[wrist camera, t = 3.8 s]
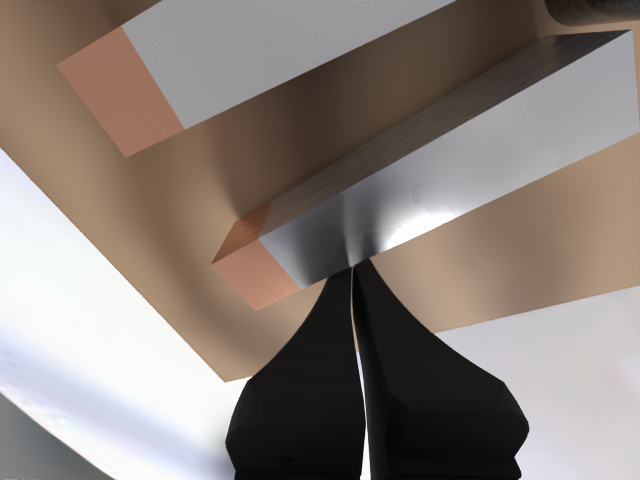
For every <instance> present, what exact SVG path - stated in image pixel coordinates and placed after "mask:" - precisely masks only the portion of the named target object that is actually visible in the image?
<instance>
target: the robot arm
mask: <svg viewBox="0 0 640 480" xmlns="http://www.w3.org/2000/svg"><path fill="white" fill-rule="evenodd" d="M351 285H352V309H353V320H354V326H355V332H356V337H357V343H358V349H359V354H360V360H361V365H362V372H363V380H364V392H365V404H366V417H367V430H368V444H369V458H370V473H371V480H519V479H520V478H521V476H522V475H521V471H520V468H519V466H518V464H517V462H516V460H515V458H514V457H515V455H516V454H517V452H518V451H519V449H520V448H521V446H522V445H523V443H524V442H525V440H526V438H527V435H528V433H529V424H528V421H527V419H526V417H525V416H524V414H523V412H522V410H521V408H520V406H519V405H518V403H517V401H516V400H515V398H514V397H513V395H512V394H511V392H510V391H509V389H508V388H507V386H506V385H505V383H504V382H503V381H501V380H500V379H498V378H496V377H495V376H493V375H491V374H490V373H488V372H486V371H485V370H483V369H482V368H480V367H478V366H477V365H475V364H473V363H472V362H470V361H469V360H467V359H466V358H465V357H463V356H462V355H460V354H459V353H457V352H456V351H455V350H453V349H452V348H451V347H449V346H448V345H447V344H445V343H444V342H443V341H442V340H440V339H439V338H438V337H437V336H435V335H434V334H433V333H432V332H431V331H429V330H428V329H427V328H426V327H425V326H424V325H423V324H422V323H421V322H420V321H419V320H418V319H417V318H415V317H414V316H413V315H412V313H411V312H410V311H409V310H408V309H407V308H406V307H405V306H404V305H403V304H402V303H401V301H400V300H399V299H398V298H397V297H396V295H395V294H394V293H393V292H392V290H391V289H390V288H389V287H388V285H387V284H386V283H385V281H384V280H383V278H382V277H381V275H380V274H379V272H378V271H377V269H376V268H375V266H374V264H373V263H372V261H371V259H370V258H368V259H366V260H364V261H362V262H360V263H358V264H355V265H353V270H352V266H351V267H349V268H347V269H345V270H343V271H340V272H338V273H336V274H334V275H332V276H330V277H328V278H327V280H326V283H325V285H324V287H323V289H322V291H321V293H320V295H319V297H318V299H317V301H316V303H315V304H314V306H313V308H312V309H311V311H310V313H309V314H308V316H307V317H306V319H305V320H304V322H303V323H302V324H301V326H300V327H299V328H298V330H297V331H296V332H295V334H294V335H293V336H292V337H291V338H290V340H289V341H288V342H287V343H286V344H285V345H284V346H283V347H282V349H281V350H280V351H279V352H278V353H277V354H276V355H275V356H274V357H273V358H272V359H271V360H270V361H269V362H268V363H267V364H266V365H265V366H264V367H263V368H262V369H260V370H259V371H258V372H257V373H256V374H255V375H254V376H253V377H252V378H250V379H249V380H248V381H247V383H246V385H245V387H244V389H243V391H242V393H241V395H240V397H239V400H238V402H237V404H236V407H235V409H234V412H233V415H232V418H231V422H230V425H229V429H228V433H227V437H226V441H225V443H226V449H227V451H228V454H229V456H230V459H231V461H232V463H233V466H234V468H235V471H236V473H235V478H234V480H360V476H361V473H362V462H363V451H364V440H365V429H366V419H365V408H364V399H363V393H362V387H361V381H360V375H359V369H358V363H357V356H356V349H355V341H354V333H353V325H352V316H351ZM518 478H519V479H518ZM5 480H16V479H5ZM17 480H18V479H17ZM20 480H21V479H20Z"/></svg>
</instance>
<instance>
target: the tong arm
mask: <svg viewBox="0 0 640 480" xmlns="http://www.w3.org/2000/svg"><path fill="white" fill-rule="evenodd" d="M638 132H640V124H639V110H638V97H637V84H636V70H635V57H634V43H633V30H632V29H629V30H615V31H602V32H588V33H575V34H562V35H548V36H544V37H542V38H540V39H539V40H537V41H535V42H534V43H532V44H530V45H529V46H527V47H525V48H524V49H522V50H520V51H519V52H517V53H515V54H514V55H512V56H510V57H509V58H507V59H505V60H504V61H502V62H500V63H499V64H497V65H495V66H494V67H492V68H490V69H489V70H487V71H485V72H484V73H482V74H480V75H479V76H477V77H475V78H474V79H472V80H470V81H469V82H467V83H465V84H464V85H462V86H460V87H459V88H457V89H455V90H454V91H452V92H450V93H449V94H447V95H445V96H444V97H442V98H440V99H439V100H437V101H435V102H434V103H432V104H430V105H429V106H427V107H425V108H424V109H422V110H420V111H419V112H417V113H415V114H414V115H412V116H410V117H409V118H407V119H405V120H404V121H402V122H400V123H399V124H397V125H395V126H394V127H392V128H390V129H389V130H387V131H385V132H384V133H382V134H380V135H379V136H377V137H375V138H374V139H372V140H370V141H369V142H367V143H365V144H364V145H362V146H360V147H359V148H357V149H355V150H354V151H352V152H350V153H349V154H347V155H345V156H344V157H342V158H340V159H338V160H337V161H335V162H333V163H332V164H330V165H328V166H327V167H325V168H323V169H322V170H320V171H318V172H317V173H315V174H313V175H312V176H310V177H308V178H307V179H305V180H303V181H302V182H300V183H298V184H297V185H295V186H293V187H292V188H290V189H288V190H287V191H285V192H283V193H282V194H280V195H278V196H277V197H275V198H273V199H272V200H270V201H268V202H267V203H265V204H263V205H262V206H260V207H258V208H257V209H255V210H253V211H252V212H250V213H248V214H247V215H245V216H243V217H242V218H240V219H238V220H237V221H235V222H234V224H233V226H232V228H231V229H230V231H229V233H228V235H227V236H226V238H225V240H224V242H223V244H222V245H221V247H220V249H219V251H218V252H217V254H216V256H215V258H214V259H213V261H212V263H211V265H210V266H211V267H212V268H213V269H214V270H215V271H216V272H217V273H218V274H219V275H220V276H221V277H222V278H223V279H224V280H225V281H226V282H227V283H228V284H229V285H230V286H231V287H232V288H233V289H234V290H235V291H236V292H237V293H238V294H239V295H240V296H241V297H242V298H243V299H244V300H245V301H246V302H247V303H248V304H249V305H250V306H251V307H252V308H253V309H254V310H255V311H257V310H259V309H261V308H263V307H265V306H268V305H270V304H272V303H274V302H276V301H278V300H280V299H283V298H285V297H287V296H289V295H291V294H293V293H295V292H298V291H300V290H302V289H304V288H306V287H308V286H310V285H313V284H315V283H317V282H319V281H321V280H323V279H325V278H328V277H330V276H332V275H334V274H336V273H338V272H340V271H343V270H345V269H347V268H349V267H351V266H353V265H355V264H358V263H360V262H362V261H364V260H366V259H368V258H370V257H373V256H375V255H377V254H379V253H381V252H383V251H386V250H388V249H390V248H392V247H394V246H396V245H398V244H401V243H403V242H405V241H407V240H409V239H411V238H413V237H416V236H418V235H420V234H422V233H424V232H426V231H428V230H431V229H433V228H435V227H437V226H439V225H441V224H443V223H446V222H448V221H450V220H452V219H454V218H456V217H458V216H461V215H463V214H465V213H467V212H469V211H471V210H473V209H476V208H478V207H480V206H482V205H484V204H486V203H488V202H491V201H493V200H495V199H497V198H499V197H501V196H503V195H506V194H508V193H510V192H512V191H514V190H516V189H518V188H521V187H523V186H525V185H527V184H529V183H531V182H533V181H536V180H538V179H540V178H542V177H544V176H546V175H548V174H551V173H553V172H555V171H557V170H559V169H561V168H563V167H566V166H568V165H570V164H572V163H574V162H576V161H578V160H581V159H583V158H585V157H587V156H589V155H591V154H593V153H596V152H598V151H600V150H602V149H604V148H606V147H608V146H611V145H613V144H615V143H617V142H619V141H621V140H623V139H626V138H628V137H630V136H632V135H634V134H636V133H638Z"/></svg>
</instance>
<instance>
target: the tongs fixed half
mask: <svg viewBox="0 0 640 480" xmlns="http://www.w3.org/2000/svg"><path fill="white" fill-rule="evenodd" d="M454 1H456V0H162V1H161V2H159V3H157V4H156V5H154V6H152V7H151V8H149V9H147V10H146V11H144V12H143V13H141V14H139V15H138V16H136V17H134V18H133V19H131V20H129V21H128V22H126V23H124V24H123V25H121V26H120V27H118V28H116V29H115V30H113V31H111V32H110V33H108V34H106V35H105V36H103V37H101V38H100V39H98V40H97V41H95V42H93V43H92V44H90V45H88V46H87V47H85V48H83V49H82V50H80V51H78V52H77V53H75V54H74V55H72V56H70V57H69V58H67V59H65V60H64V61H62V62H60V63H59V64H57V65H56V66H57V67H58V69H59V70H60V71H61V73H62V74H63V75H64V77H65V78H66V79H67V80H68V82H69V83H70V84H71V86H72V87H73V88H74V90H75V91H76V92H77V94H78V95H79V96H80V98H81V99H82V100H83V102H84V103H85V104H86V106H87V107H88V108H89V110H90V111H91V112H92V114H93V115H94V116H95V118H96V119H97V120H98V122H99V123H100V124H101V126H102V127H103V128H104V130H105V131H106V132H107V134H108V135H109V136H110V138H111V139H112V140H113V142H114V143H115V144H116V146H117V147H118V148H119V150H120V151H121V152H122V154H123V155H124V156H125V157H126V158H127V157H129V156H131V155H133V154H135V153H137V152H139V151H141V150H143V149H146V148H148V147H150V146H152V145H154V144H156V143H158V142H160V141H162V140H164V139H167V138H169V137H171V136H173V135H175V134H177V133H179V132H181V131H183V130H185V129H187V128H190V127H192V126H194V125H196V124H198V123H200V122H202V121H204V120H206V119H208V118H211V117H213V116H215V115H217V114H219V113H221V112H223V111H225V110H227V109H229V108H232V107H234V106H236V105H238V104H240V103H242V102H244V101H246V100H248V99H250V98H253V97H255V96H257V95H259V94H261V93H263V92H265V91H267V90H269V89H271V88H273V87H276V86H278V85H280V84H282V83H284V82H286V81H288V80H290V79H292V78H294V77H297V76H299V75H301V74H303V73H305V72H307V71H309V70H311V69H313V68H315V67H318V66H320V65H322V64H324V63H326V62H328V61H330V60H332V59H334V58H336V57H339V56H341V55H343V54H345V53H347V52H349V51H351V50H353V49H355V48H357V47H359V46H362V45H364V44H366V43H368V42H370V41H372V40H374V39H376V38H378V37H380V36H383V35H385V34H387V33H389V32H391V31H393V30H395V29H397V28H399V27H401V26H404V25H406V24H408V23H410V22H412V21H414V20H416V19H418V18H420V17H422V16H425V15H427V14H429V13H431V12H433V11H435V10H437V9H439V8H441V7H443V6H445V5H448V4H450V3H452V2H454ZM544 2H545V6H546V9H547V11H548V13H549V14H550V16H551V17H552V18H553V19H554V20H555V21H557V22H558V23H560V24H562V25H565V26H570V27H578V26H588V25H598V24H608V23H617V22H627V21H637V20H640V0H544Z"/></svg>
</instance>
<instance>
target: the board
mask: <svg viewBox="0 0 640 480" xmlns="http://www.w3.org/2000/svg"><path fill="white" fill-rule="evenodd" d="M161 1H162V0H0V148H1V149H2V150H3V151H4V152H5V153H6V154H7V155H8V156H9V157H10V158H11V159H12V160H13V161H14V162H15V163H16V164H17V165H18V166H19V167H20V168H21V170H22V171H23V172H24V173H25V174H26V175H27V176H28V177H29V178H30V179H31V180H32V181H33V182H34V183H35V184H36V185H37V186H38V187H39V188H40V189H41V190H42V192H43V193H44V194H45V195H46V196H47V197H48V198H49V199H50V200H51V201H52V202H53V203H54V204H55V205H56V206H57V207H58V208H59V209H60V210H61V211H62V212H63V214H64V215H65V216H66V217H67V218H68V219H69V220H70V221H71V222H72V223H73V224H74V225H75V226H76V227H77V228H78V229H79V230H80V231H81V232H82V233H83V234H84V236H85V237H86V238H87V239H88V240H89V241H90V242H91V243H92V244H93V245H94V246H95V247H96V248H97V249H98V250H99V251H100V252H101V253H102V254H103V255H104V256H105V258H106V259H107V260H108V261H109V262H110V263H111V264H112V265H113V266H114V267H115V268H116V269H117V270H118V271H119V272H120V273H121V274H122V275H123V276H124V277H125V278H126V280H127V281H128V282H129V283H130V284H131V285H132V286H133V287H134V288H135V289H136V290H137V291H138V292H139V293H140V294H141V295H142V296H143V297H144V298H145V299H146V300H147V302H148V303H149V304H150V305H151V306H152V307H153V308H154V309H155V310H156V311H157V312H158V313H159V314H160V315H161V316H162V317H163V318H164V319H165V320H166V321H167V322H168V324H169V325H170V326H171V327H172V328H173V329H174V330H175V331H176V332H177V333H178V334H179V335H180V336H181V337H182V338H183V339H184V340H185V341H186V342H187V343H188V344H189V346H190V347H191V348H192V349H193V350H194V351H195V352H196V353H197V354H198V355H199V356H200V357H201V358H202V359H203V360H204V361H205V362H206V363H207V364H208V365H209V366H210V368H211V369H212V370H213V371H214V372H215V373H216V374H217V375H218V376H219V377H220V378H221V379H222V380H223V381H224V382H229V381H233V380H238V379H242V378H246V377H250V376H254V375H255V374H256V373H257V372H258V371H259V370H260V369H262V368H263V367H264V366H265V365H266V364H267V363H268V362H269V361H270V360H271V359H272V358H273V357H274V356H275V355H276V354H277V353H278V352H279V351H280V350H281V349H282V347H283V346H284V345H285V344H286V343H287V342H288V341H289V340H290V338H291V337H292V336H293V335H294V334H295V332H296V331H297V330H298V328H299V327H300V326H301V324H302V323H303V322H304V320H305V319H306V317H307V316H308V314H309V313H310V311H311V309H312V308H313V306H314V304H315V303H316V301H317V299H318V297H319V295H320V293H321V291H322V289H323V287H324V285H325V283H326V280H327V278H325V279H323V280H321V281H319V282H317V283H315V284H313V285H310V286H308V287H306V288H304V289H302V290H300V291H298V292H295V293H293V294H291V295H289V296H287V297H285V298H283V299H280V300H278V301H276V302H274V303H272V304H270V305H268V306H265V307H263V308H261V309H259V310H257V311H255V310H254V309H253V308H252V307H251V306H250V305H249V304H248V303H247V302H246V301H245V300H244V299H243V298H242V297H241V296H240V295H239V294H238V293H237V292H236V291H235V290H234V289H233V288H232V287H231V286H230V285H229V284H228V283H227V282H226V281H225V280H224V279H223V278H222V277H221V276H220V275H219V274H218V273H217V272H216V271H215V270H214V269H213V268H212V267H211V266H210V265H211V263H212V261H213V259H214V258H215V256H216V254H217V252H218V251H219V249H220V247H221V245H222V244H223V242H224V240H225V238H226V236H227V235H228V233H229V231H230V229H231V228H232V226H233V224H234V222H235V221H237V220H238V219H240V218H242V217H243V216H245V215H247V214H248V213H250V212H252V211H253V210H255V209H257V208H258V207H260V206H262V205H263V204H265V203H267V202H268V201H270V200H272V199H273V198H275V197H277V196H278V195H280V194H282V193H283V192H285V191H287V190H288V189H290V188H292V187H293V186H295V185H297V184H298V183H300V182H302V181H303V180H305V179H307V178H308V177H310V176H312V175H313V174H315V173H317V172H318V171H320V170H322V169H323V168H325V167H327V166H328V165H330V164H332V163H333V162H335V161H337V160H338V159H340V158H342V157H344V156H345V155H347V154H349V153H350V152H352V151H354V150H355V149H357V148H359V147H360V146H362V145H364V144H365V143H367V142H369V141H370V140H372V139H374V138H375V137H377V136H379V135H380V134H382V133H384V132H385V131H387V130H389V129H390V128H392V127H394V126H395V125H397V124H399V123H400V122H402V121H404V120H405V119H407V118H409V117H410V116H412V115H414V114H415V113H417V112H419V111H420V110H422V109H424V108H425V107H427V106H429V105H430V104H432V103H434V102H435V101H437V100H439V99H440V98H442V97H444V96H445V95H447V94H449V93H450V92H452V91H454V90H455V89H457V88H459V87H460V86H462V85H464V84H465V83H467V82H469V81H470V80H472V79H474V78H475V77H477V76H479V75H480V74H482V73H484V72H485V71H487V70H489V69H490V68H492V67H494V66H495V65H497V64H499V63H500V62H502V61H504V60H505V59H507V58H509V57H510V56H512V55H514V54H515V53H517V52H519V51H520V50H522V49H524V48H525V47H527V46H529V45H530V44H532V43H534V42H535V41H537V40H539V39H540V38H542V37H544V36H548V35H562V34H575V33H588V32H602V31H615V30H629V29H632V30H633V43H634V57H635V70H636V84H637V97H638V110H639V124H640V20H637V21H627V22H617V23H608V24H598V25H588V26H578V27H570V26H565V25H562V24H560V23H558V22H557V21H555V20H554V19H553V18H552V17H551V16H550V14H549V13H548V11H547V9H546V6H545V2H544V0H456V1H454V2H452V3H450V4H448V5H445V6H443V7H441V8H439V9H437V10H435V11H433V12H431V13H429V14H427V15H425V16H422V17H420V18H418V19H416V20H414V21H412V22H410V23H408V24H406V25H404V26H401V27H399V28H397V29H395V30H393V31H391V32H389V33H387V34H385V35H383V36H380V37H378V38H376V39H374V40H372V41H370V42H368V43H366V44H364V45H362V46H359V47H357V48H355V49H353V50H351V51H349V52H347V53H345V54H343V55H341V56H339V57H336V58H334V59H332V60H330V61H328V62H326V63H324V64H322V65H320V66H318V67H315V68H313V69H311V70H309V71H307V72H305V73H303V74H301V75H299V76H297V77H294V78H292V79H290V80H288V81H286V82H284V83H282V84H280V85H278V86H276V87H273V88H271V89H269V90H267V91H265V92H263V93H261V94H259V95H257V96H255V97H253V98H250V99H248V100H246V101H244V102H242V103H240V104H238V105H236V106H234V107H232V108H229V109H227V110H225V111H223V112H221V113H219V114H217V115H215V116H213V117H211V118H208V119H206V120H204V121H202V122H200V123H198V124H196V125H194V126H192V127H190V128H187V129H185V130H183V131H181V132H179V133H177V134H175V135H173V136H171V137H169V138H167V139H164V140H162V141H160V142H158V143H156V144H154V145H152V146H150V147H148V148H146V149H143V150H141V151H139V152H137V153H135V154H133V155H131V156H129V157H127V158H126V157H125V156H124V155H123V154H122V152H121V151H120V150H119V148H118V147H117V146H116V144H115V143H114V142H113V140H112V139H111V138H110V136H109V135H108V134H107V132H106V131H105V130H104V128H103V127H102V126H101V124H100V123H99V122H98V120H97V119H96V118H95V116H94V115H93V114H92V112H91V111H90V110H89V108H88V107H87V106H86V104H85V103H84V102H83V100H82V99H81V98H80V96H79V95H78V94H77V92H76V91H75V90H74V88H73V87H72V86H71V84H70V83H69V82H68V80H67V79H66V78H65V77H64V75H63V74H62V73H61V71H60V70H59V69H58V67H57V66H56V65H57V64H59V63H60V62H62V61H64V60H65V59H67V58H69V57H70V56H72V55H74V54H75V53H77V52H78V51H80V50H82V49H83V48H85V47H87V46H88V45H90V44H92V43H93V42H95V41H97V40H98V39H100V38H101V37H103V36H105V35H106V34H108V33H110V32H111V31H113V30H115V29H116V28H118V27H120V26H121V25H123V24H124V23H126V22H128V21H129V20H131V19H133V18H134V17H136V16H138V15H139V14H141V13H143V12H144V11H146V10H147V9H149V8H151V7H152V6H154V5H156V4H157V3H159V2H161ZM370 259H371V261H372V263H373V264H374V266H375V268H376V269H377V271H378V272H379V274H380V275H381V277H382V278H383V280H384V281H385V283H386V284H387V285H388V287H389V288H390V289H391V290H392V292H393V293H394V294H395V295H396V297H397V298H398V299H399V300H400V301H401V303H402V304H403V305H404V306H405V307H406V308H407V309H408V310H409V311H410V312H411V313H412V315H413V316H414V317H415V318H417V319H418V320H419V321H420V322H421V323H422V324H423V325H424V326H425V327H426V328H427V329H428V330H429V331H431V332H432V333H433V334H434V333H438V332H443V331H447V330H451V329H455V328H460V327H464V326H468V325H472V324H477V323H481V322H485V321H490V320H494V319H498V318H502V317H507V316H511V315H515V314H519V313H524V312H528V311H532V310H536V309H541V308H545V307H549V306H554V305H558V304H562V303H566V302H571V301H575V300H579V299H583V298H588V297H592V296H596V295H600V294H605V293H609V292H613V291H618V290H622V289H626V288H630V287H635V286H639V285H640V132H638V133H636V134H634V135H632V136H630V137H628V138H626V139H623V140H621V141H619V142H617V143H615V144H613V145H611V146H608V147H606V148H604V149H602V150H600V151H598V152H596V153H593V154H591V155H589V156H587V157H585V158H583V159H581V160H578V161H576V162H574V163H572V164H570V165H568V166H566V167H563V168H561V169H559V170H557V171H555V172H553V173H551V174H548V175H546V176H544V177H542V178H540V179H538V180H536V181H533V182H531V183H529V184H527V185H525V186H523V187H521V188H518V189H516V190H514V191H512V192H510V193H508V194H506V195H503V196H501V197H499V198H497V199H495V200H493V201H491V202H488V203H486V204H484V205H482V206H480V207H478V208H476V209H473V210H471V211H469V212H467V213H465V214H463V215H461V216H458V217H456V218H454V219H452V220H450V221H448V222H446V223H443V224H441V225H439V226H437V227H435V228H433V229H431V230H428V231H426V232H424V233H422V234H420V235H418V236H416V237H413V238H411V239H409V240H407V241H405V242H403V243H401V244H398V245H396V246H394V247H392V248H390V249H388V250H386V251H383V252H381V253H379V254H377V255H375V256H373V257H370ZM352 270H353V266H352ZM351 316H352V325H353V333H354V341H355V349H356V352H357V351H359V349H358V343H357V337H356V332H355V326H354V320H353V309H352V285H351Z"/></svg>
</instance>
